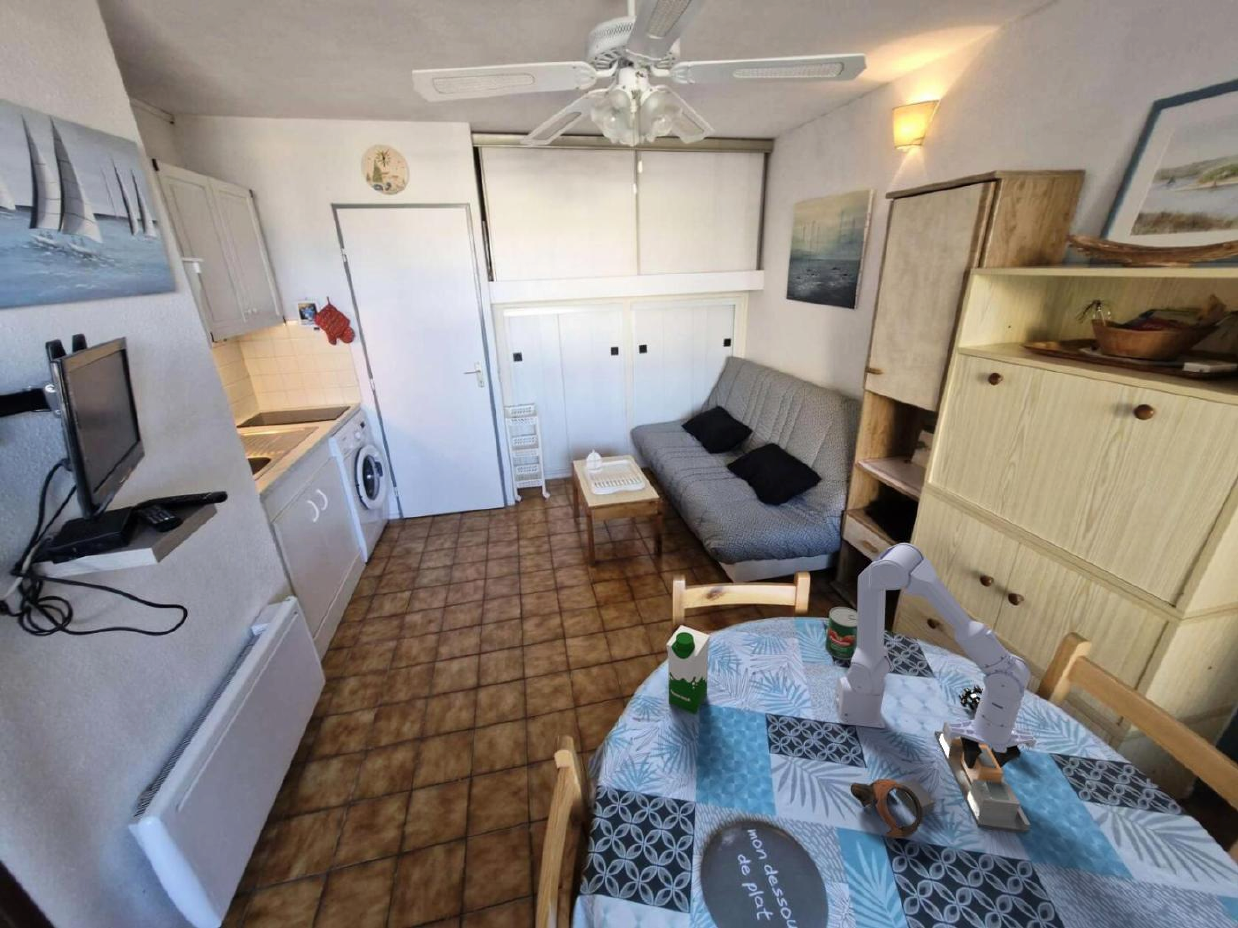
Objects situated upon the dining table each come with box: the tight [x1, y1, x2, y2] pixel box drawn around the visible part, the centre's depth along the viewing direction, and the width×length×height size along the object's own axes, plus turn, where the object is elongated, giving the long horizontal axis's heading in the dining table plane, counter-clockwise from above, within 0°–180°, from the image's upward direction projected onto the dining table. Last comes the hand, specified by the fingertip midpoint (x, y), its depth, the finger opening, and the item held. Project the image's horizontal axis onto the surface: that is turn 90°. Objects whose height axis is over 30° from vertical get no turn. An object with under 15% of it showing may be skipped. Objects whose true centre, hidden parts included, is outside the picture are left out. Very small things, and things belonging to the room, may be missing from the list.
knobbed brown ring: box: [849, 778, 924, 840], centre depth 95 cm, size 12×10×8 cm
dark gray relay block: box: [895, 777, 937, 819], centre depth 97 cm, size 4×5×3 cm
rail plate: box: [934, 721, 1031, 835], centre depth 100 cm, size 8×20×6 cm, turn 170°
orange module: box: [961, 745, 1004, 783], centre depth 99 cm, size 4×6×5 cm, turn 170°
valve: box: [958, 684, 1016, 728], centre depth 111 cm, size 7×7×12 cm
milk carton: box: [666, 624, 711, 715], centre depth 120 cm, size 9×9×20 cm
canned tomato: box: [824, 606, 857, 661], centre depth 134 cm, size 8×8×11 cm
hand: (980, 765), depth 100 cm, fingers closed on orange module, 4 cm apart
